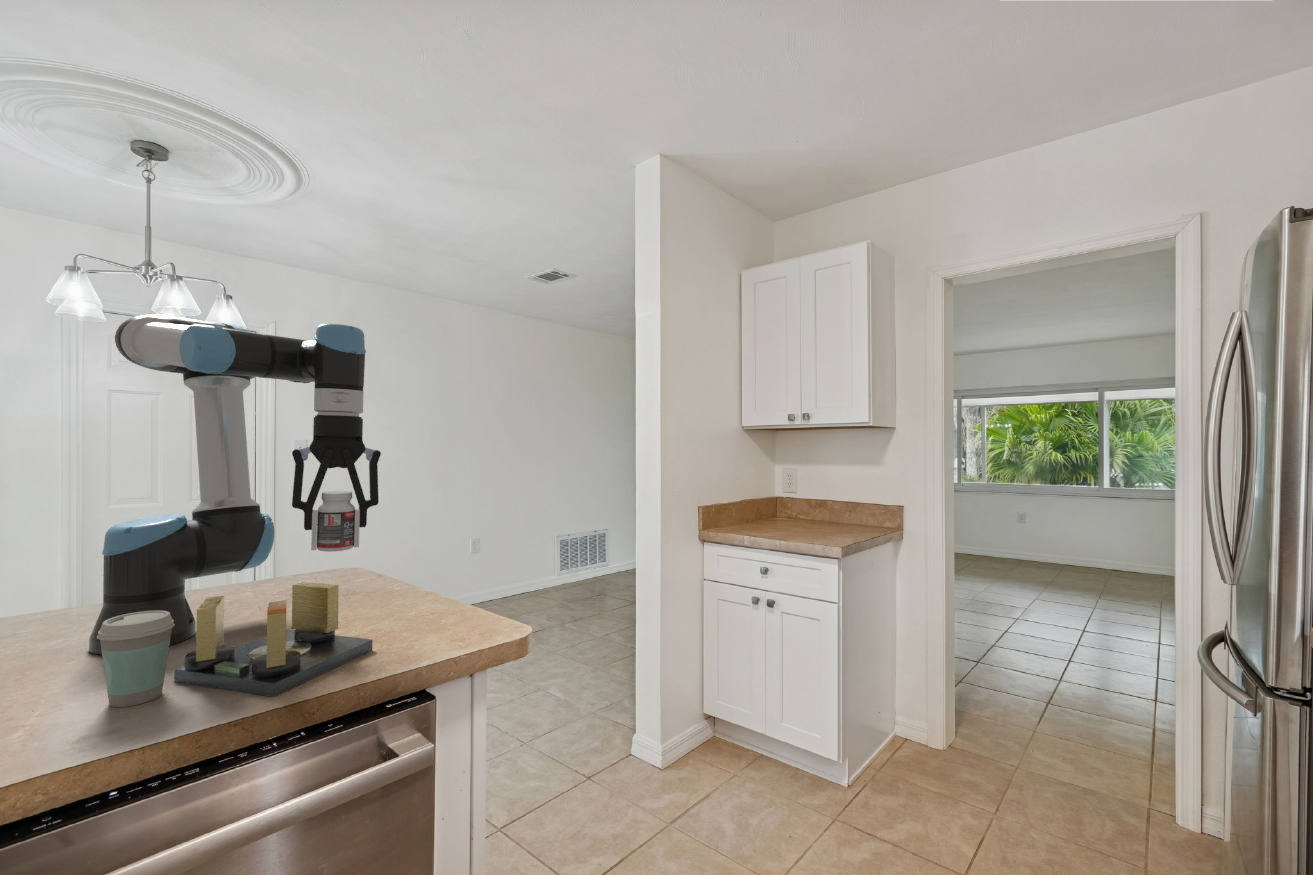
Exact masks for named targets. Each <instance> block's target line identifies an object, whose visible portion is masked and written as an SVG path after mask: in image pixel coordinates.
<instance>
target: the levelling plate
mask: <svg viewBox="0 0 1313 875" xmlns="http://www.w3.org/2000/svg"><path fill="white" fill-rule="evenodd" d="M295 630H296V629H287V628H286V651H288V650H290V651H298V652H300V668H299V669H298V670H297V671H295V672H293V673H291V674H288V675H285V676H281V677H276V678H269V679H258V678H254V677H252V661H253V660H254V659H255V658H257V657H259V656H262V655H264V654H267V635H266V636H263V637H261V638H257V639H255V640H252V641H249V642H247V643H244V644H241V645H237V646H236V647H235V646H234V647H235V661H234V662H228V661H224V662H221V663H218V664H216V665H215V670H210V671H204V672H188V671H186V670H185V664H184V665H182V666H179V667H176V668H174V674H173V676H174V678H173V682H175V683H181V684H189V685H194V686H200V687H206V688H214V689H221V690H226V691H232V692H238V693H243V694H251V695H257V696H263V697H265V696H266V697H271V698H275V697H277V696H279V695H282V694H283V693H285V692H287V691H290V690H291V689H294V688H295V687H297V686H300V685H302V684H304V683H306V682H309V681H310V680H313V679H314V678H315V679H316V678H317V677H319V676H322V675H323V674H326V673H328V672H331V671H332V670H334V669H337V668H338V667H340V666H342V665H344V664H347V663H349V662H351V661H352V660H355V659H357V658H359V657H361V656H364V655H366V654H368V653H371V652H372V651H373V639H371V638H364V637H363V638H361V637H355V636H354V637H353V636H346V635H337V634H335V638H334V639H333V640H331V641H329V642H326V643H322V644H318V645H311V643H309V642H296V641H294V631H295Z"/></svg>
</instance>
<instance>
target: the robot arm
mask: <svg viewBox="0 0 1313 875" xmlns="http://www.w3.org/2000/svg"><path fill="white" fill-rule="evenodd" d="M114 343H115V347H116V348H117V350H118V352H119V354H121V355H122V356H123V358H124V359H126V360H127V361H129V362H130V363H132V364H135V365H137V366H140V367H142V368H144V369H145V368H146V369H149V370H152V371H159V372H166V373H175V374H182V375H183V376H182V378H183V384H184V387H186V388H188V389H190V390H191V391H192V392H193V404H194V405H193V406H194V420H195V435H196V436H195V438H196V450H197V466H198V467H197V468H198V482H199V495H200V502H199V505H197V506H196V507H195V508H194V509H193V510H192V512H191V517H192V518H191V520H188V518H187V517H186V515H184V514H181V513H170V514H163V515H151V516H146V517H141V518H134V519H130V520H127V521H123V522H121V523H116V524H114V525H113V526H110V528H109V529H108V530H107V531H106V532H105V536H104V542H103V549H102V556H103V573H102V574H103V575H102V576H103V584H102V587H103V588H102V593H103V594H102V596H103V597H102V598H103V599H102V607H101V610H100V613H99V614H98V617H97V619H96V622H95V625H94V627H93V629H92V632H91V634H90V636H89V639H88V650H89V652H90V653H92V654H96V655H102V650H101V643H100V640H99V639H97V636H98V631H99V630H100V629H101V626H102V623H103V622H104V621H106V620H108V619H110V618H113V617H116V616H120V615H125V614H130V613H136V612H143V611H168V612H170V615H171V618H172V619H173V620H174V622H173V623H174V624H175V625H174V627H172V631H171V638H170V644H169V646H171V645H174V644H177V643H178V644H179V643H181V642H183V641H186V640H188V639H189V638H192V637H193V636H194V635H196V629H197V621H196V619H195V617H194V614H193V612H192V610H191V607H190V604H189V602H188V599H187V598H186V592H185V589H186V586H185V585H186V580H189V579H190V580H191V579H197V578H202V577H209V576H213V575H214V576H215V575H219V574H226V573H233V572H235V573H236V572H241V571H243V570H247V569H248V570H249V569H254V568H257V567H259V566H261V565H262V564H263V563H265V561H266V560H267V559H268V558H269V555H270V554H271V552H272V549H273V546H274V542H275V525H274V522H273V519H272V517H271V516H270V514H267V513H265V512H261V504H260V503H258V502H256V500H254V499H253V498H252V496H251V483H250V469H249V467H250V466H249V455H248V443H247V429H246V428H247V427H246V417H245V416H246V414H245V402H244V401H245V400H244V391H245V390H246V389H247V388H249V386H251V380H252V379H254V378H258V379H259V378H263V379H272V380H273V379H274V380H284V381H289V382H292V383H300V384H301V383H302V384H309V383H314V392H313V393H314V394H313V396H314V397H313V398H314V400H313V402H314V403H313V411H315V412H316V413H317V414H316V415H315V416H314V417H313V425H312V426H313V427H312V428H313V431H312V432H313V434H312V441H311V443H310V445H309V446H307V447H302V448H294V449H293V450H292V452H291V455H292V458H293V460H294V465H295V466H294V476H293V486H292V487H293V488H292V489H293V490H292V499H291V506H292V508H294V509H298V510H301V511H303V516H304V517H303V529H304V531H311V543H310V544H311V545H310V546H311V547H310V549H311V550H310V551H317V521H318V509H314V506H315V503H316V501H317V497H318V495H319V492H320V490H321V488H322V487H321V486H322V484H323V481H324V479H325V476H326V474H327V471H328V469H335V468H341V469H347V472H348V475H349V478H350V481H351V484H352V488H353V492H354V494H355V497H356V501H357V503H358V508H357V507H355V520H354V546H353V548H360V528H366V527H367V524H368V523H367V522H368V521H367V520H368V509H369V508H371V507H374V506H377V505H378V504H379V475H378V474H379V472H378V463H379V461H380V459H381V454H382V452H381V451H380V450H378V449H373V448H368V447H366V445H365V443H364V440H363V434H364V432H363V427H364V425H363V424H364V418H363V417H361V416H360V414H363V413H364V386H365V369H366V368H365V366H366V365H365V363H366V352H367V350H366V348H365V347H366V346H365V345H366V344H365V332H364V331H363V330H362V329H361V328H359V327H356V326H353V325H347V324H338V323H321V324H319V325H317V328H316V331H315V336H314V339H302V338H301V339H300V338H295V337H286V336H280V335H273V334H265V333H259V332H257V333H256V332H253V331H252V332H251V331H249V330H248V329H246V328H244V327H241V326H240V327H239V326H235V325H231V324H229V323H225V322H224V323H223V322H222V323H219V322H212V321H206V320H205V321H204V320H200V319H199V320H198V319H192V318H188V317H187V318H186V317H177V316H174V315H166V314H143V315H142V314H141V315H137V316H133V317H130V318H128V319H126V320H125V321H123V322H121V324H120V325H119V326H118V327H117V329H116V332H115V335H114ZM309 454H312V455H313V456H314V458H315V459H316V460H317V461H318V462H319V467H318V469H317V473H316V475H315V478H314V480H313V482H312V486H311V488H310V491H309V493H308V496H307V499H306V501H304V500H302V492H303V485H304V484H303V482H304V471H305V469H304V468H305V461H307V460H308V459H309ZM363 454H365V459H366V460H367V461H369V462H368V473H369V474H368V477H369V480H368V481H369V499H366V498H365V494H364V490H363V488H362V485H361V484H362V483H361V481H360V477H359V475H358V472H357V467H356V465H355V463H356V462H357V461H358V460H359V458H361V456H362V455H363Z"/></svg>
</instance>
